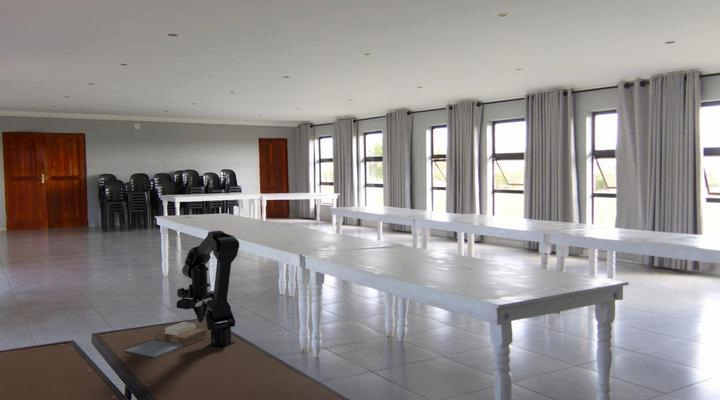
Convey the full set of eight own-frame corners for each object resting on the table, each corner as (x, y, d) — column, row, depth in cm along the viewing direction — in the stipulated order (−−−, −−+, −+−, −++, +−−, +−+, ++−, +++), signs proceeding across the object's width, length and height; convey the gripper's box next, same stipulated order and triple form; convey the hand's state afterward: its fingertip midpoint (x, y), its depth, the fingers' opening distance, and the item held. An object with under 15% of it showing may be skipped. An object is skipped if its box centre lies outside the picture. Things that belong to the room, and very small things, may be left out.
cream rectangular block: (195, 329, 211) (195, 323, 211) (177, 335, 203) (177, 330, 203) (183, 327, 214) (183, 321, 213) (165, 333, 206) (164, 327, 206)
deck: (206, 337, 210) (205, 329, 210) (183, 346, 200) (183, 338, 200) (178, 332, 216) (177, 325, 216) (155, 340, 207) (155, 332, 207)
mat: (183, 346, 200) (183, 345, 200) (154, 357, 189) (154, 356, 189) (154, 341, 207) (154, 339, 207) (125, 351, 195) (125, 350, 195)
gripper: (201, 275, 228) (202, 314, 229) (165, 284, 212) (166, 325, 213) (222, 277, 223) (223, 317, 224) (187, 287, 206) (188, 329, 207)
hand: (200, 322), depth 217 cm, fingers closed
